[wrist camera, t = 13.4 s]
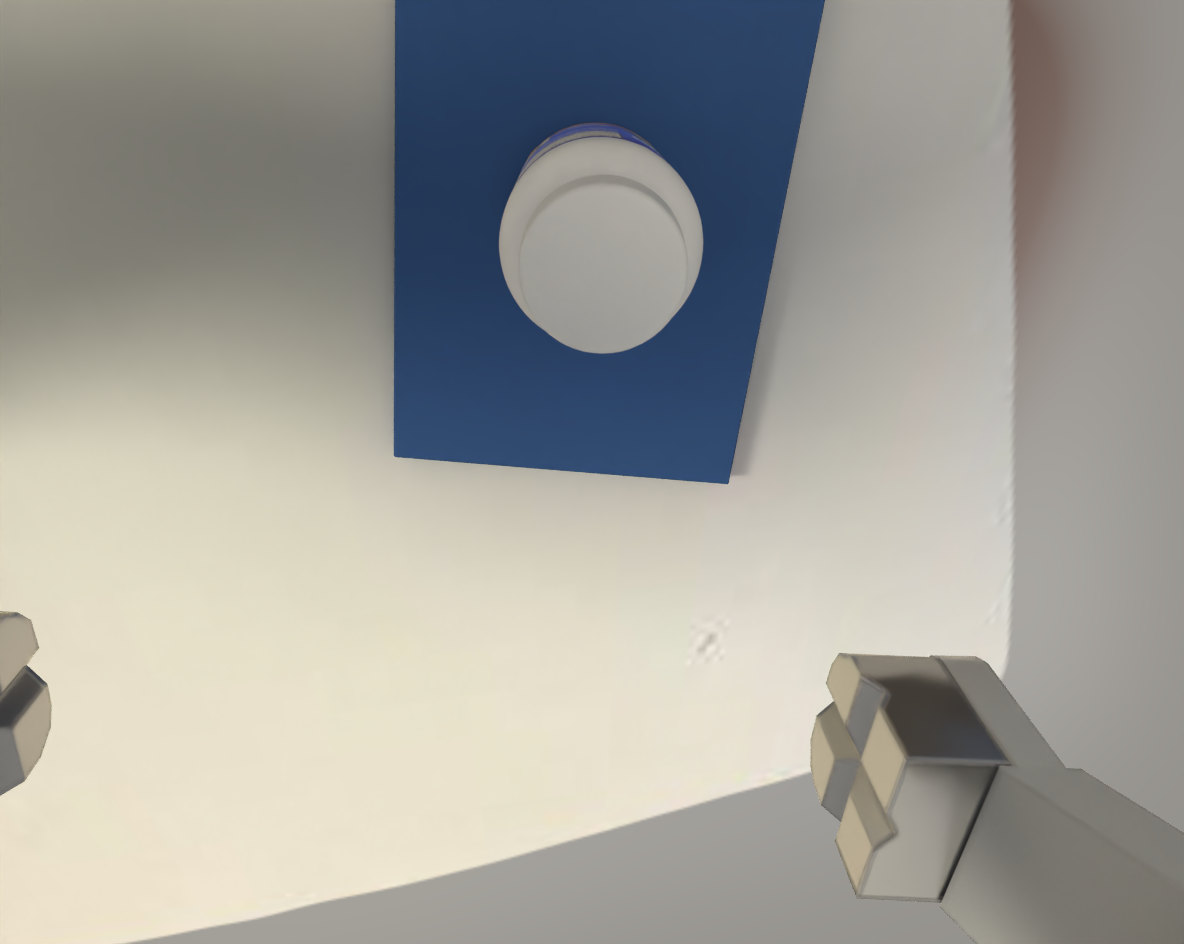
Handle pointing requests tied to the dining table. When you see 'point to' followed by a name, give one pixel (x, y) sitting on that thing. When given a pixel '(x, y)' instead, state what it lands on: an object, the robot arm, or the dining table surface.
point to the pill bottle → (600, 239)
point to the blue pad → (488, 175)
